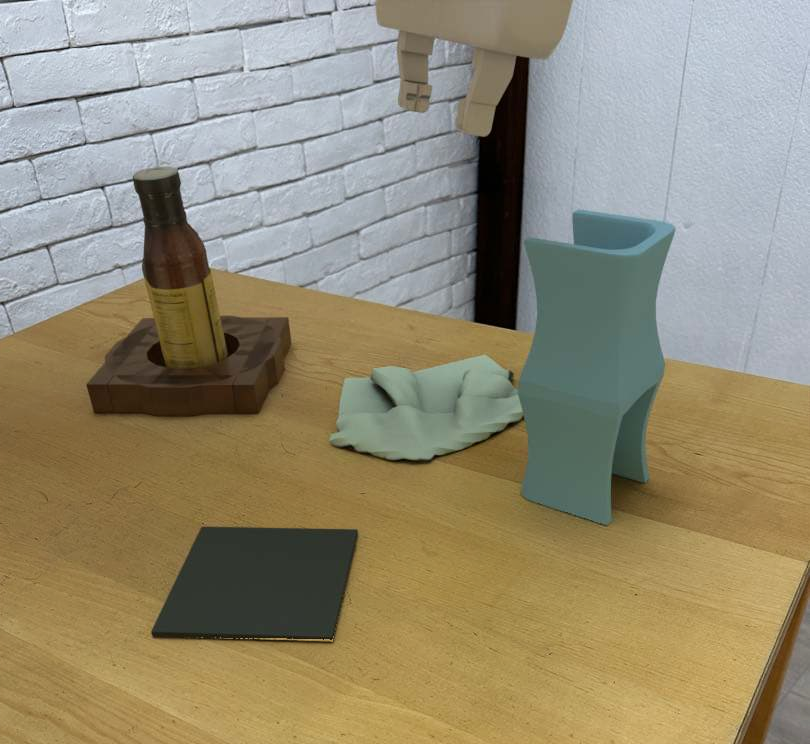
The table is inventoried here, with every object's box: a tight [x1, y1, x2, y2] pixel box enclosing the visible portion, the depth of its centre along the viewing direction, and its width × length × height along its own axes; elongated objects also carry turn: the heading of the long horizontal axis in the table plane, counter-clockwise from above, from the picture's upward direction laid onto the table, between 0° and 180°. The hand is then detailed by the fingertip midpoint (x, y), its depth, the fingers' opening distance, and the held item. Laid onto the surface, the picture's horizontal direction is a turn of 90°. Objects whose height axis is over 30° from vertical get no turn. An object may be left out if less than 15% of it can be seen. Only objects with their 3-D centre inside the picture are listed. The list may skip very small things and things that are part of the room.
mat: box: [150, 526, 359, 640], centre depth 63 cm, size 12×12×1 cm
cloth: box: [329, 354, 524, 462], centre depth 83 cm, size 20×22×2 cm
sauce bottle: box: [132, 166, 228, 368], centre depth 86 cm, size 6×6×20 cm
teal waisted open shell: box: [517, 208, 677, 526], centre depth 66 cm, size 8×8×20 cm
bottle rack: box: [85, 315, 292, 417], centre depth 91 cm, size 17×17×3 cm
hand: (440, 121), depth 59 cm, fingers open, 8 cm apart
